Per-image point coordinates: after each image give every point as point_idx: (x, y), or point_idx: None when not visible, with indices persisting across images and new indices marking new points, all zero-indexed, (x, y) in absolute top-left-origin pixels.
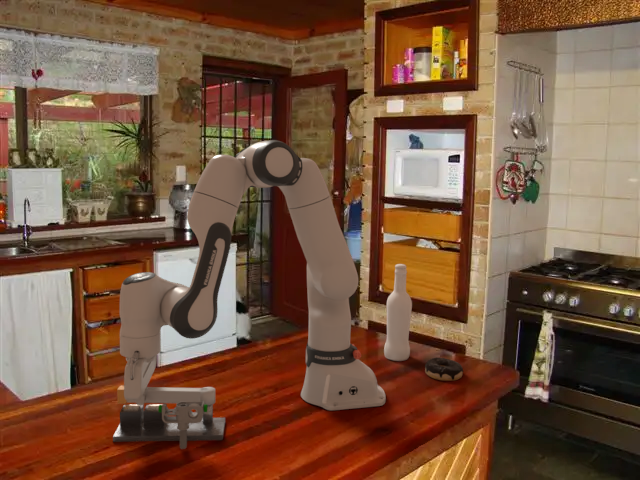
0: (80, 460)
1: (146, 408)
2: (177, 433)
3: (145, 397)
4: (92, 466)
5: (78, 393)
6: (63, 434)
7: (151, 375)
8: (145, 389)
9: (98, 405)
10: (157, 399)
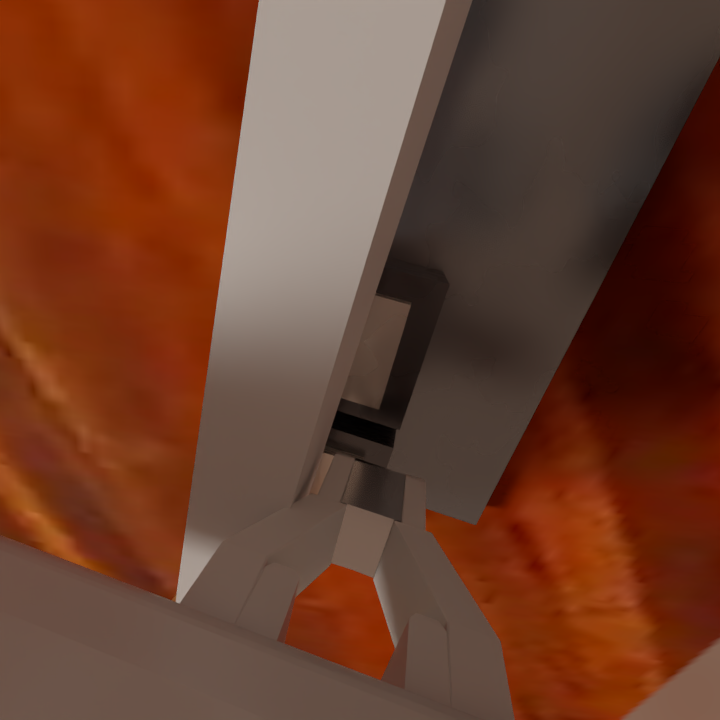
0: (588, 619)
1: (343, 403)
2: (608, 187)
3: (350, 479)
4: (673, 599)
5: (34, 536)
6: (344, 620)
7: (17, 590)
8: (303, 540)
9: (124, 499)
10: (352, 354)
